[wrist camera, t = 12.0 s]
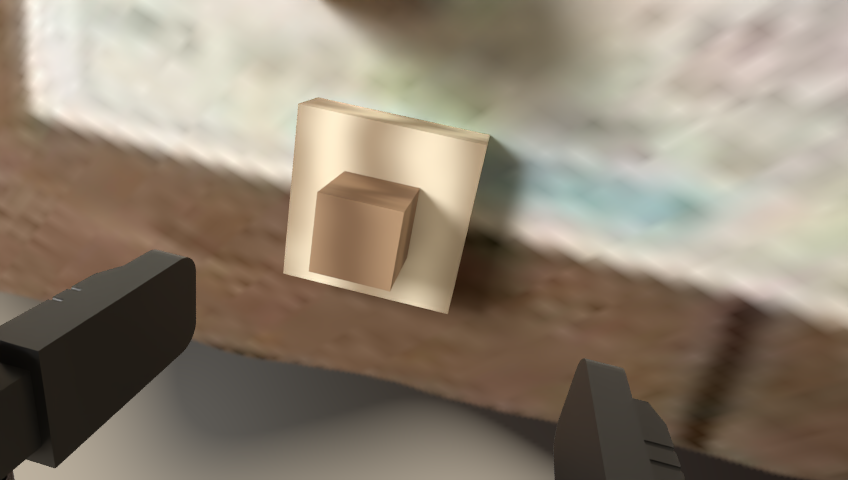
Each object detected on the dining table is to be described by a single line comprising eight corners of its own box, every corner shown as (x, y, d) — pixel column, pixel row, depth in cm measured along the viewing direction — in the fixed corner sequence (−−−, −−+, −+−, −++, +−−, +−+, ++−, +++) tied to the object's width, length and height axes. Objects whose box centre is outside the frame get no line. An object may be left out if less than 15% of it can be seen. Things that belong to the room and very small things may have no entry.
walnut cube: (420, 188, 33) (404, 212, 29) (406, 258, 35) (389, 291, 31) (344, 170, 34) (317, 192, 29) (335, 241, 36) (308, 271, 31)
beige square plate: (490, 133, 35) (487, 145, 32) (454, 288, 40) (447, 313, 36) (320, 96, 36) (298, 103, 33) (304, 251, 41) (283, 273, 37)
